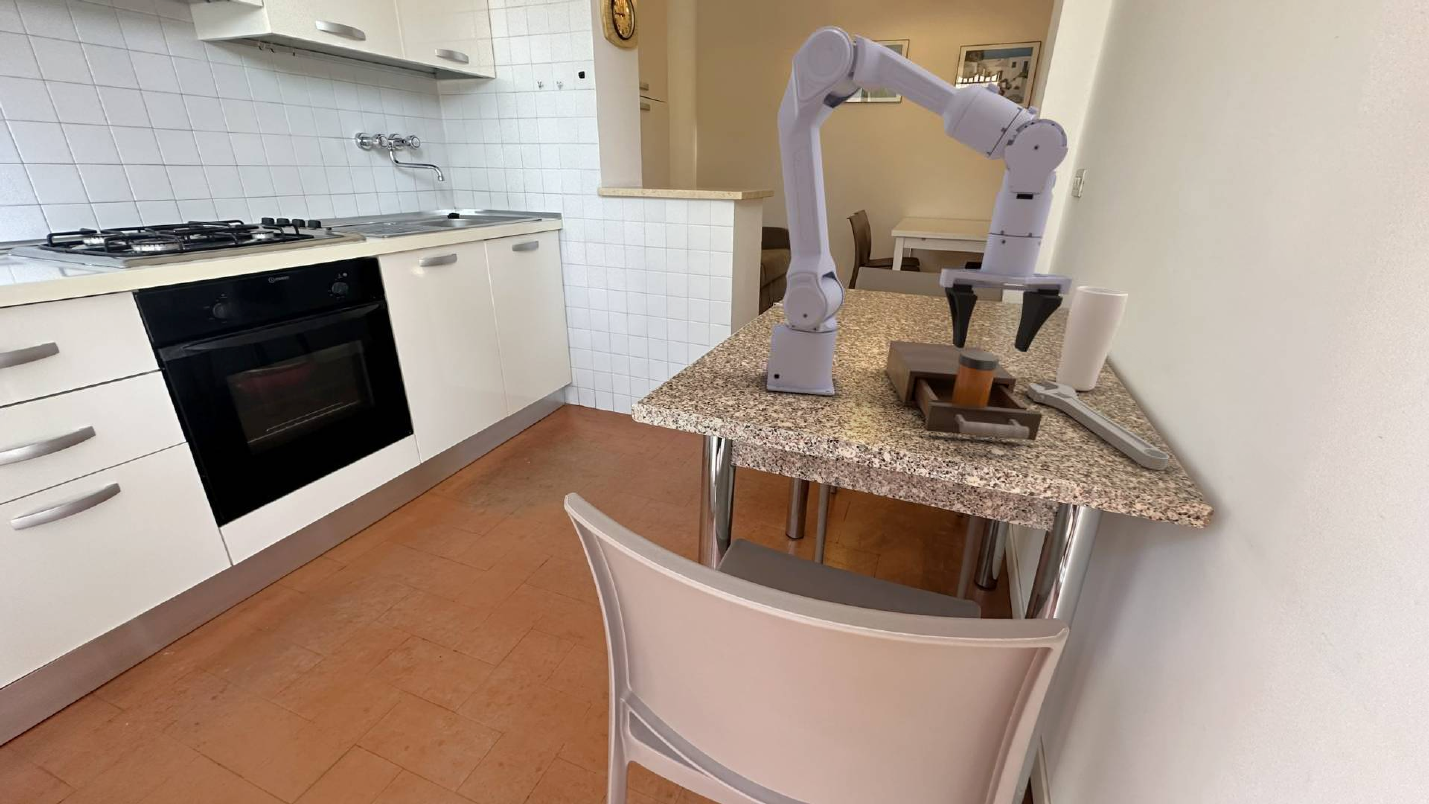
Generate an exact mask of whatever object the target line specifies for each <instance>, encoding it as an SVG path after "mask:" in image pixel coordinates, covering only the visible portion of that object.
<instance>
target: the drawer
mask: <svg viewBox="0 0 1429 804" xmlns="http://www.w3.org/2000/svg"><path fill="white" fill-rule="evenodd" d="M954 384H955V380H951V379H938V378H926V377H915V380H914V386H913V391H912V394H913V396H914V397H915V399H916V401H917V403H918V404H919V406H920V407H919V408H920V410H921V412H922V413H923V415H924V416H925V422H924V426H923V427H924V429H925V431H927V432H937V433H945V434H947V433H948V434H959V435H968V436H969V435H970V436H982V437H992V438H993V437H994V438H1003V439H1004V438H1005V439H1013V440H1014V439H1016V440H1024V441H1025V440H1027V441H1036V440H1037V435H1038V432H1039V429H1040V425H1041V422H1042V418H1043V413H1041V412H1040V411H1039V410H1031V409H1028V407H1027V406H1026V405H1025V404H1024V403H1023V402H1022V401H1021V400H1020V399H1018V398H1017V397H1016V396H1015V395H1014V393H1013V394H1012V393H1011V392H1010V391H1009V390H1008V389H1007V388H1006V387H1005V386H1003V385H1002V384H1000V383H992V387H991V391H990V395H989V399H988V403H987V407H985V406H973V405H961V404H950V403H951V398H952V393H953V388H954Z"/></svg>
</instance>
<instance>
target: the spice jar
mask: <svg viewBox="0 0 1429 804" xmlns="http://www.w3.org/2000/svg"><path fill="white" fill-rule="evenodd" d="M958 363H959V365H958V370H957V374H956V379H955V384H954V388H953V393H952V398H951V403H950V404H961V405H973V406H985V407H987V403H988V399H989V395H990V391H991V387H992V382H993V378H994V374H995V370H996V369H997V367H998V364H1000V357H999V356H998V355H995V354H993V353H990V352H987V351H985V352H982V351H973V350H966V351H961V352H960V354H959V359H958Z"/></svg>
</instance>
